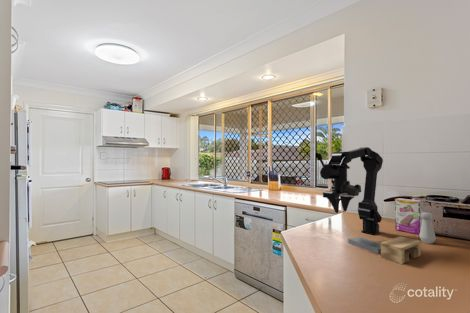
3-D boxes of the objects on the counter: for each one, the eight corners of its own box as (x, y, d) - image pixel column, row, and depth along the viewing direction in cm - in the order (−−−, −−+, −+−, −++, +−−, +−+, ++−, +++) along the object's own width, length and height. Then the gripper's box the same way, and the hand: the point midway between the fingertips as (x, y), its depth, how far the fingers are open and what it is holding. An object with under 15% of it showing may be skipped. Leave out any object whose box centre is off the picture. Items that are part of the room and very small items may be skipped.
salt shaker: (439, 244, 105) (438, 214, 105) (423, 244, 106) (423, 214, 107) (431, 240, 111) (430, 211, 111) (416, 239, 112) (416, 211, 112)
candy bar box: (395, 230, 128) (394, 198, 129) (399, 228, 131) (398, 198, 132) (420, 235, 119) (419, 201, 119) (424, 233, 122) (423, 200, 122)
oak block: (381, 257, 91) (380, 242, 91) (400, 249, 99) (400, 236, 99) (401, 264, 85) (401, 248, 85) (420, 255, 93) (420, 240, 93)
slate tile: (348, 244, 108) (348, 238, 108) (359, 242, 111) (359, 236, 111) (378, 255, 95) (377, 248, 95) (389, 252, 98) (389, 246, 98)
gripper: (344, 180, 102) (344, 217, 102) (368, 178, 112) (369, 212, 112) (321, 179, 112) (322, 213, 111) (346, 177, 122) (346, 209, 121)
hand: (341, 212), depth 114 cm, fingers open, 6 cm apart
